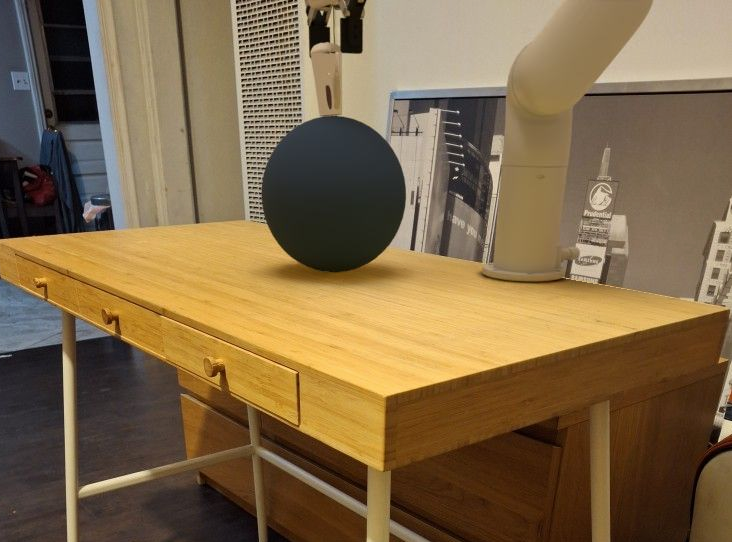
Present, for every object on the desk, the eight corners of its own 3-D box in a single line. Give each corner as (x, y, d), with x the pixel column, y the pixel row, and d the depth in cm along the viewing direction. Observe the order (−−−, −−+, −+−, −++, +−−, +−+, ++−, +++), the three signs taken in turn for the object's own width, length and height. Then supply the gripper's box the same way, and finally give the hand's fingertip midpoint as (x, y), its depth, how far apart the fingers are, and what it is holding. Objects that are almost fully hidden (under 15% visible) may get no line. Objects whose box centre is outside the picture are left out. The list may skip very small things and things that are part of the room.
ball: (361, 257, 133) (363, 117, 123) (430, 277, 116) (438, 116, 106) (244, 266, 124) (235, 115, 114) (300, 289, 107) (296, 113, 97)
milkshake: (352, 113, 108) (348, 31, 103) (315, 116, 108) (309, 34, 103) (351, 114, 112) (346, 35, 107) (315, 116, 112) (308, 37, 107)
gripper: (392, -109, 94) (389, 52, 101) (329, -78, 107) (331, 61, 115) (338, -117, 91) (339, 49, 98) (281, -85, 104) (286, 59, 112)
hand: (335, 56), depth 107 cm, fingers open, 9 cm apart
